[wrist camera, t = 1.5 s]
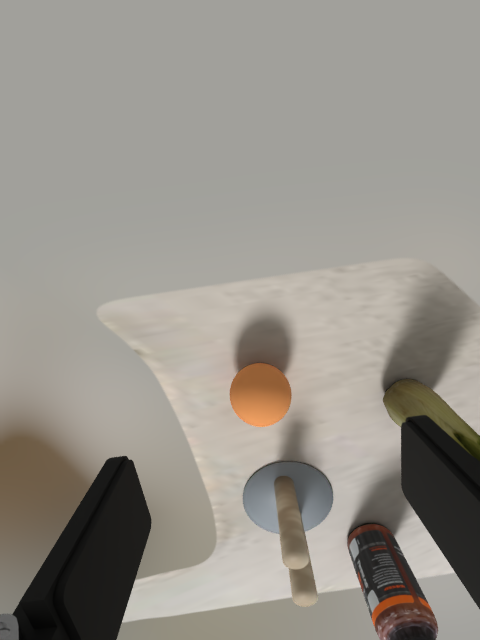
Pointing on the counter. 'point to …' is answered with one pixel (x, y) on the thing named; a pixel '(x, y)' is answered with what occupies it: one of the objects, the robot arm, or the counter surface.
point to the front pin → (290, 524)
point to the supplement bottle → (390, 586)
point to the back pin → (303, 583)
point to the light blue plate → (309, 492)
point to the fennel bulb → (429, 412)
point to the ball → (260, 394)
